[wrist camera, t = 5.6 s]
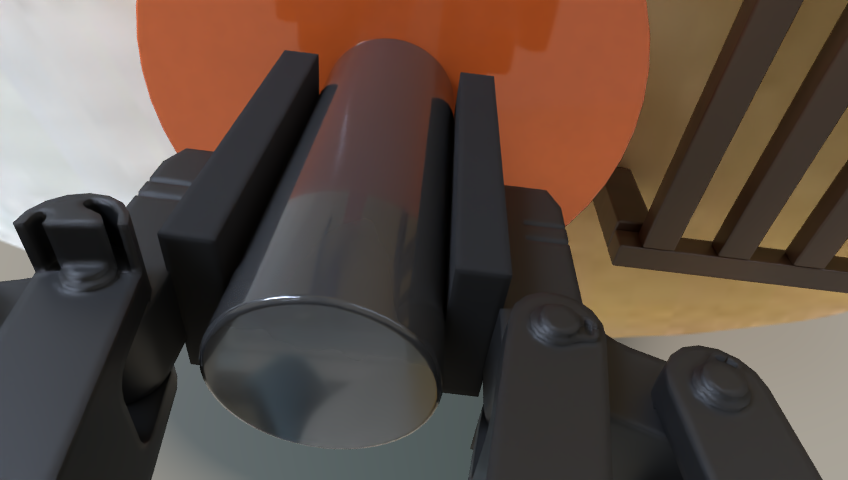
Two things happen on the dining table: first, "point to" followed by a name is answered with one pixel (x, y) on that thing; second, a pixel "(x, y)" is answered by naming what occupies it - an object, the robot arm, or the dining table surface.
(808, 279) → the rack
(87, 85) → the dining table surface
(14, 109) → the dining table surface
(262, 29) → the lid
